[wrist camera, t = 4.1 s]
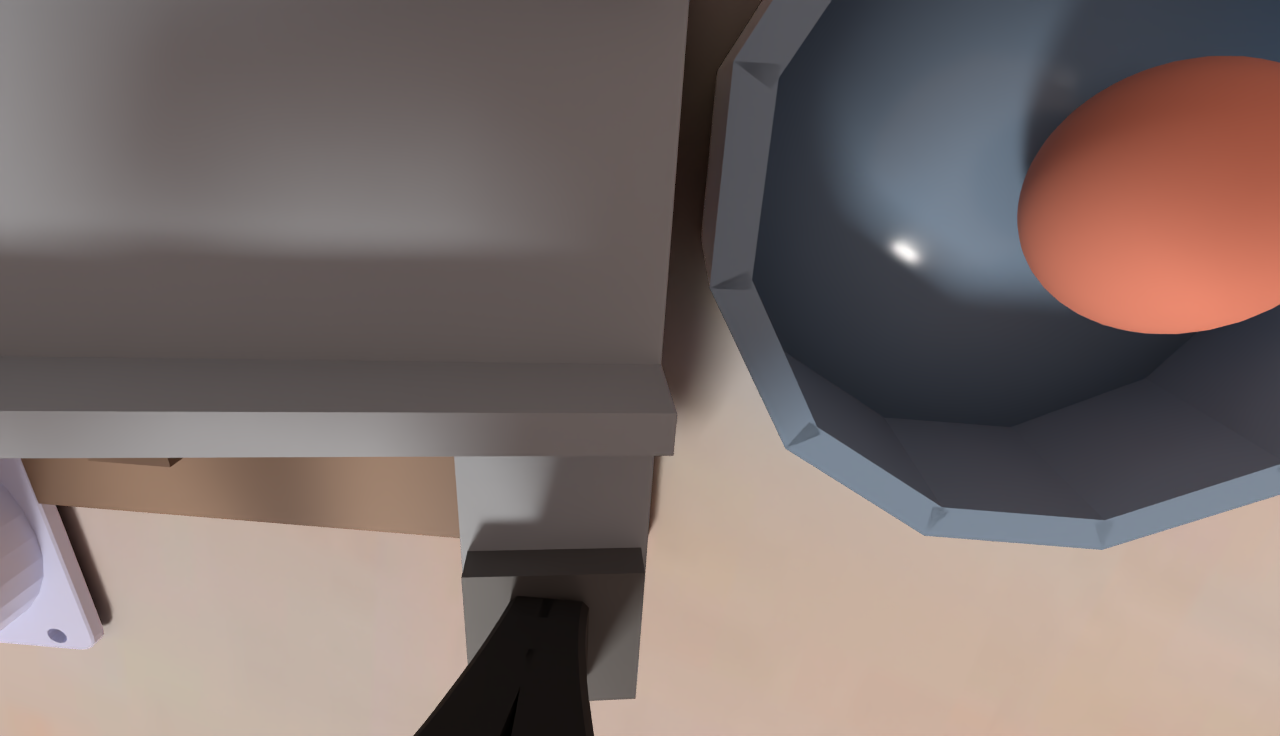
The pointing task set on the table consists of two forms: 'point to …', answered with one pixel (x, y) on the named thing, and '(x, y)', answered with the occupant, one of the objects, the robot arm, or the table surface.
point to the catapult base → (263, 489)
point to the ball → (1162, 199)
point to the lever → (359, 259)
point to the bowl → (967, 271)
